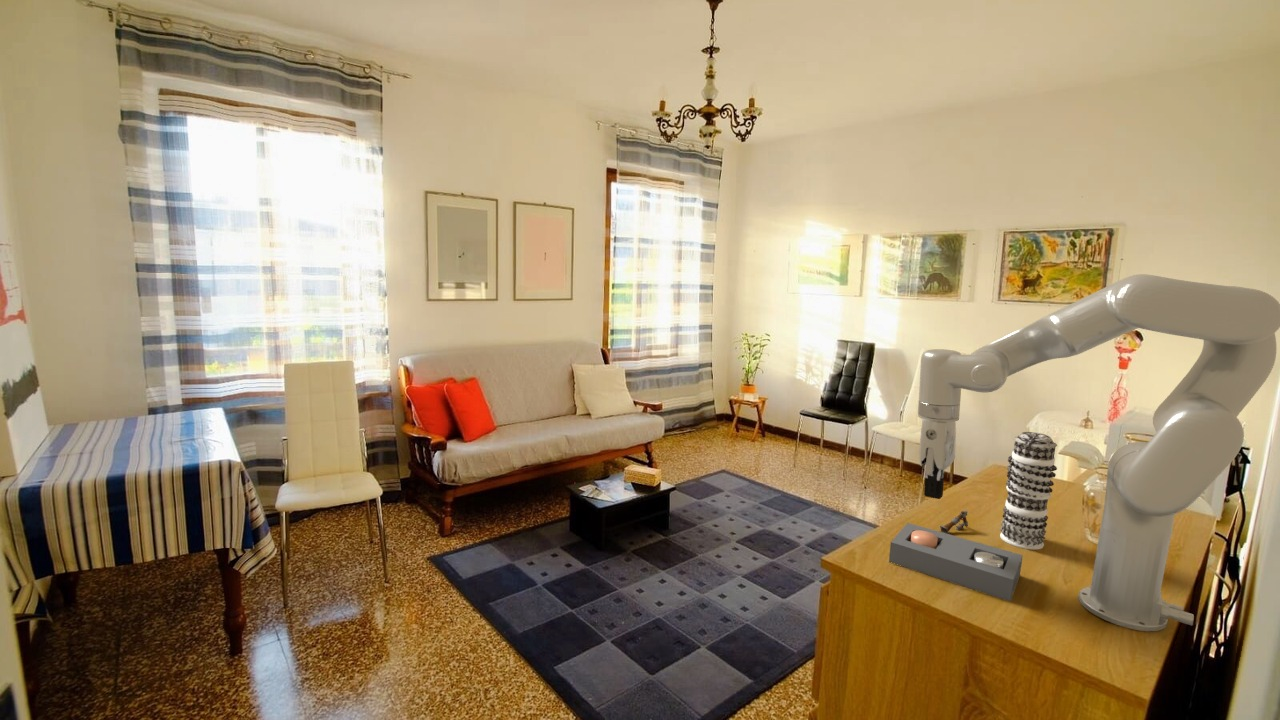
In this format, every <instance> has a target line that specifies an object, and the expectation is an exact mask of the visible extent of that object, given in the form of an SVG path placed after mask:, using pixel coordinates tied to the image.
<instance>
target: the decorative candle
mask: <svg viewBox="0 0 1280 720" xmlns="http://www.w3.org/2000/svg"><path fill="white" fill-rule="evenodd" d="M1013 440H1014V445H1013V450H1012V453H1011V455H1008V458H1007V462H1008V463H1009V464H1008V465H1007V472H1006V477H1007V480H1006V490H1007V498H1006V500H1005V506H1004V507H1003V509H1002V510H1003V514H1002V518H1003V519H1002V520H1001V522H1000V525H1001V527H1000V534H999V536H1000V539H1001V540H1002V541H1003V542H1005V543H1007V544H1009V545H1011V546H1013V547H1017V548H1020V549H1025V550H1035V551H1036V550H1041V549H1043V548H1044V546H1045V544H1044V542H1045V540H1046V537H1045V535H1046V533H1047V530H1046V528H1047V526H1048V523H1047V521H1048V519H1049V516H1048V509H1049V508H1048V507H1047V506H1048V501H1049V499H1050V498H1051V497H1052V494H1051V493H1052V492H1053V491H1054V489H1053V488H1051V487H1053V486H1054V484H1055V483H1054V481H1053V480H1051V479H1053V478H1055V477H1056V476H1057V475H1056V473H1055V471H1057V470H1058V467H1057V466H1056V465H1055V460H1056V458H1055V452H1056V447H1058V444H1057V443H1056V442H1054V441H1053V438H1052V437H1051V436H1049V435H1048V434H1044V433H1041V432H1033V431H1024V432H1021V433H1019V434H1018V435H1017V436H1014V437H1013Z"/></svg>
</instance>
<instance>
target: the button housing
mask: <svg viewBox="0 0 1280 720" xmlns="http://www.w3.org/2000/svg"><path fill="white" fill-rule="evenodd" d="M917 530H921V531H927V532H930V533H932V534H934V535H936V536H937V538H938V540H937V548H936V549H934V548H930V547H927V546H924V545H920V544H917V543H914V542H911V534H912V532H913V531H917ZM889 546H890V547H889V556H888V562H889V563H890V562H892V563H891V564H894V563H895V564H894V565H897V564H898V565H897V566H900V565H901V566H900V567H903V566H904V567H903V568H906V567H907V568H906V569H909V568H910V569H909V570H912V569H913V570H912V571H915V570H916V571H915V572H919V573H922V574H925V575H928V576H931V577H934V578H936V579H938V580H939V579H940V580H944V581H946V582H948V583H949V582H950V583H952V584H955V585H959V586H960V587H965V588H967V589H970V590H973V591H976V592H980V593H983V594H986V595H988V596H992V597H995V598H998V599H1001V600H1005V601H1008V602H1011V601H1012V598H1013V596H1014V594H1015V590H1016V588H1017V584H1018V581H1019V580H1018V579H1020V577H1021V570H1022V563H1023V558H1024V557H1023V556H1024V555H1023V554H1019V553H1016V552H1013V551H1009V550H1006V549H1002V548H999V547H996V546H995V547H994V546H992V545H988V544H984V543H981V542H977V541H973V540H970V539H967V538H963V537H960V536H956V535H952V534H950V533H949V534H947V533H945V532H943V531H938V530H935V529H932V528H927V527H925V526H921V525H917V524H913V523H911V522H910V523H909V522H907V523H906V524H905V525H904V526H903V527H902V528H901V529H900V531H898V533H897V534H896V535H895V537H894V538H893V539H892V540H891V541H890V544H889ZM977 552H987V553H991V554H994V555H997V556H999V557H1000V558H1002V559H1003V569H1000V568H997V567H994V566H990V565H987V564H984V563H980V562H977V561H974V555H975V553H977Z"/></svg>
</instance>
